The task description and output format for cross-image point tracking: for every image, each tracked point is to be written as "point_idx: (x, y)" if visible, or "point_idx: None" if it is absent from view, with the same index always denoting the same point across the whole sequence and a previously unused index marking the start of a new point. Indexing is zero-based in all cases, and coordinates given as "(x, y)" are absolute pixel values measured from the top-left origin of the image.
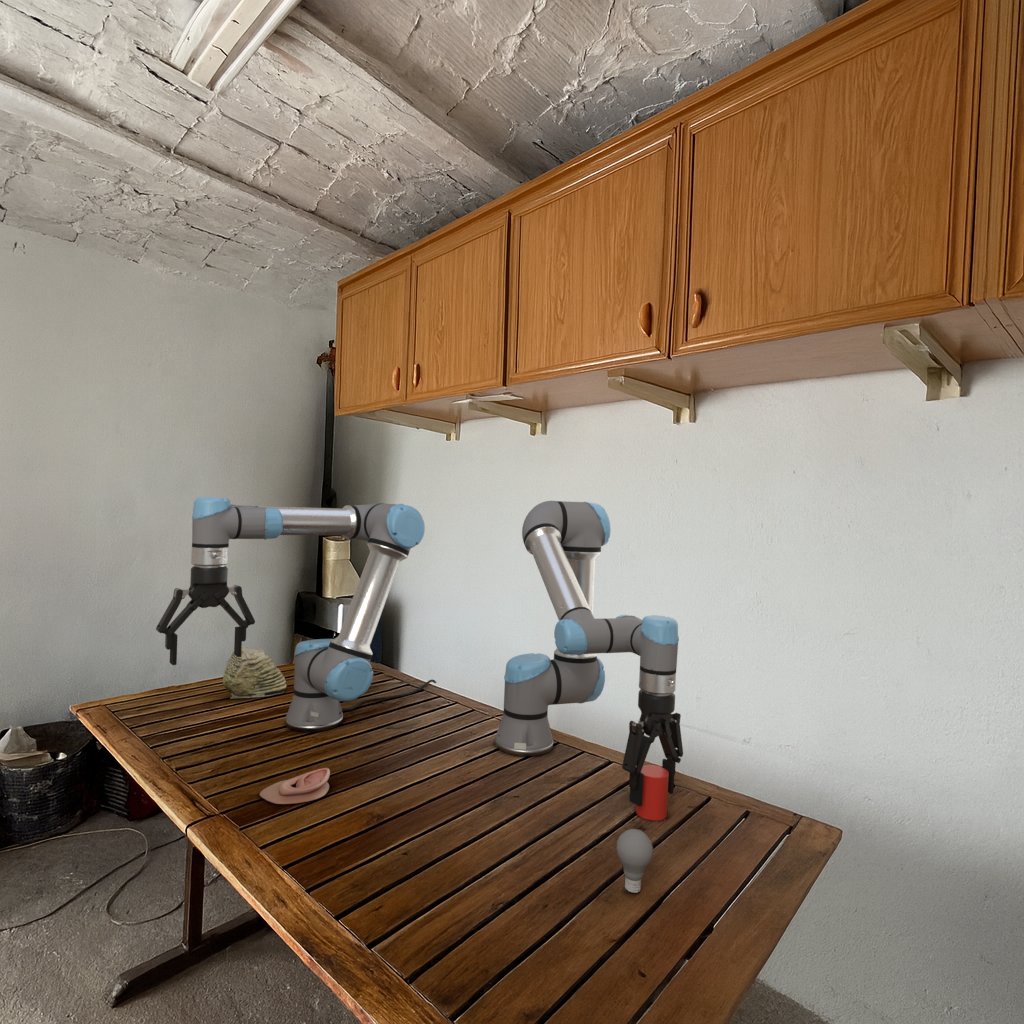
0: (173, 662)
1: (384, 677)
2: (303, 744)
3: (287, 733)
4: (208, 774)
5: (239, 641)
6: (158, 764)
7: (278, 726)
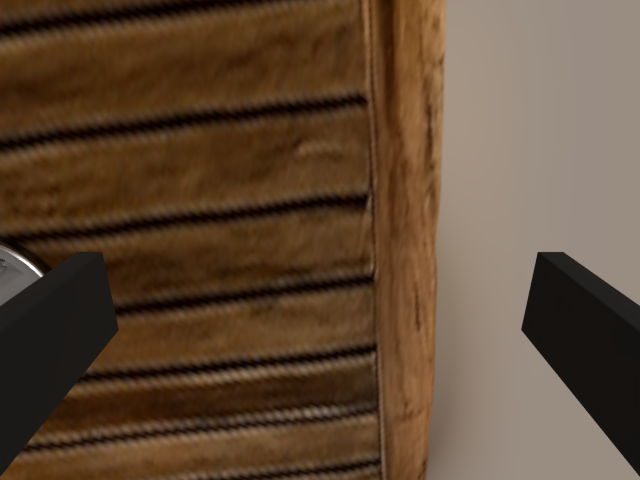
0: (569, 261)
1: None
2: (51, 177)
3: None
4: (312, 126)
5: (5, 320)
6: (390, 251)
7: None
